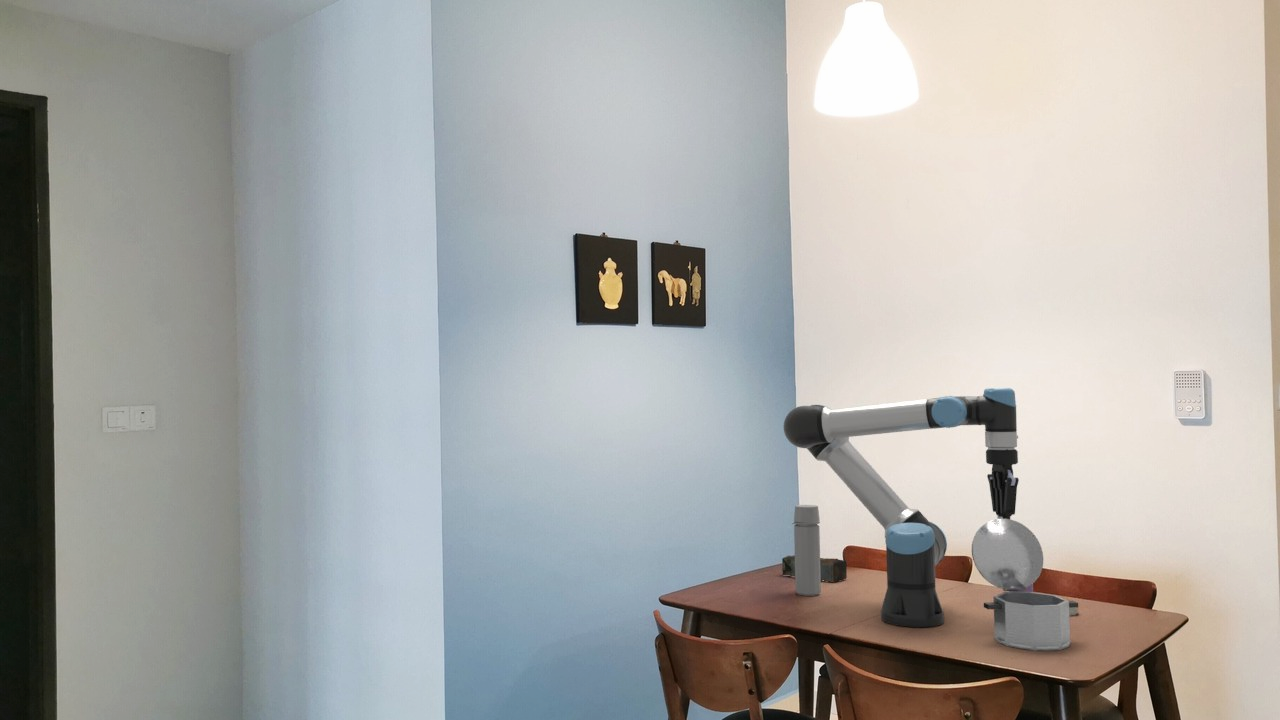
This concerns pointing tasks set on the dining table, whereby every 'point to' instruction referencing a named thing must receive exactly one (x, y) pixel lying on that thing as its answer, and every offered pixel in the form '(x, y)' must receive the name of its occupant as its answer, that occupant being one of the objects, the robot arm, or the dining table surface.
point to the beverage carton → (828, 568)
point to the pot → (1031, 620)
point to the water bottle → (807, 550)
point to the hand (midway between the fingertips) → (1004, 541)
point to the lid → (1007, 554)
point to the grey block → (1072, 610)
